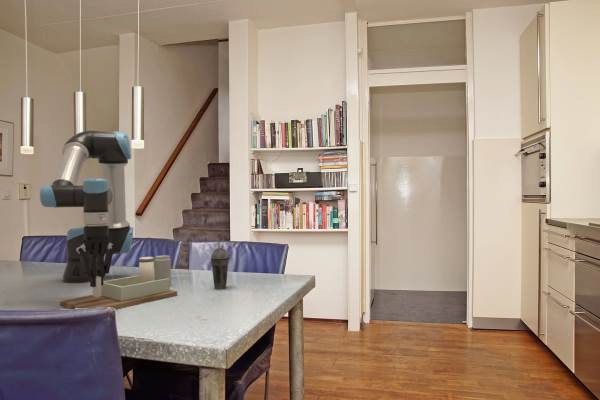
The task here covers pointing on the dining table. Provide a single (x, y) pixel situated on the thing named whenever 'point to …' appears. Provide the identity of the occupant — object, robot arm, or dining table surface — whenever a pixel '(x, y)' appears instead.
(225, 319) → the dining table surface
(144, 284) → the pale green open frame
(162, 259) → the beverage can
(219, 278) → the beverage cup
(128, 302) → the board
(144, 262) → the beige rounded cylinder
